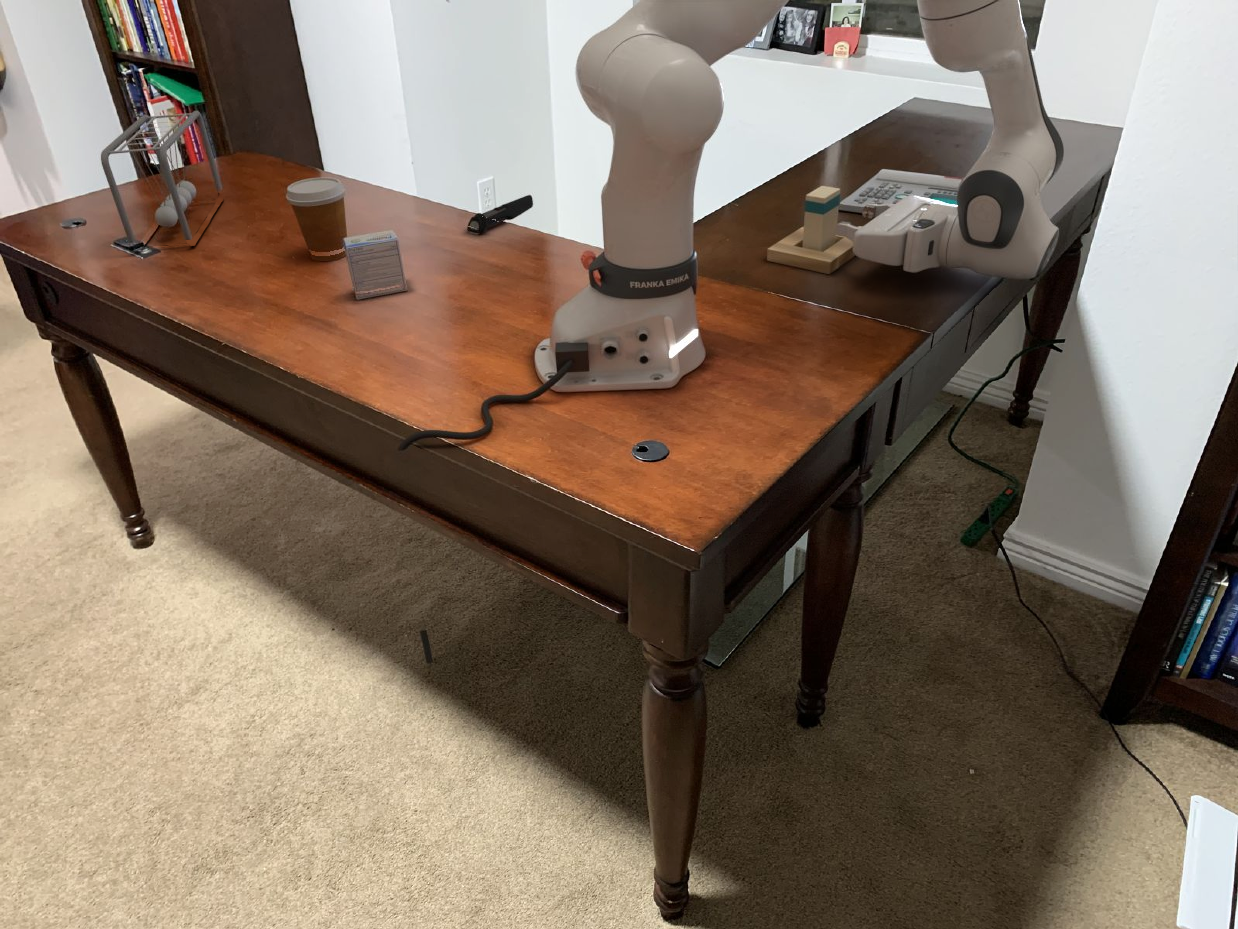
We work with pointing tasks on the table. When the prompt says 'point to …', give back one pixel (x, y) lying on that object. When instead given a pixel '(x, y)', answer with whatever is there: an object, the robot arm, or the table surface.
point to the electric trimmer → (499, 214)
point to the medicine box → (375, 263)
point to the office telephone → (902, 189)
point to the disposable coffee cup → (320, 214)
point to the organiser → (810, 253)
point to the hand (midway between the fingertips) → (851, 218)
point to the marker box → (821, 218)
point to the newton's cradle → (177, 193)
